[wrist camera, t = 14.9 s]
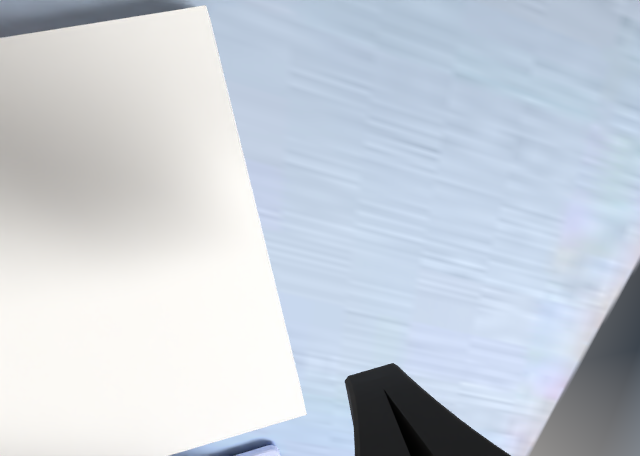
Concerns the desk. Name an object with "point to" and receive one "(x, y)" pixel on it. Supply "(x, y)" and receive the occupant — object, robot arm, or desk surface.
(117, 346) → the white board
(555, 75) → the desk surface
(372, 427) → the robot arm
